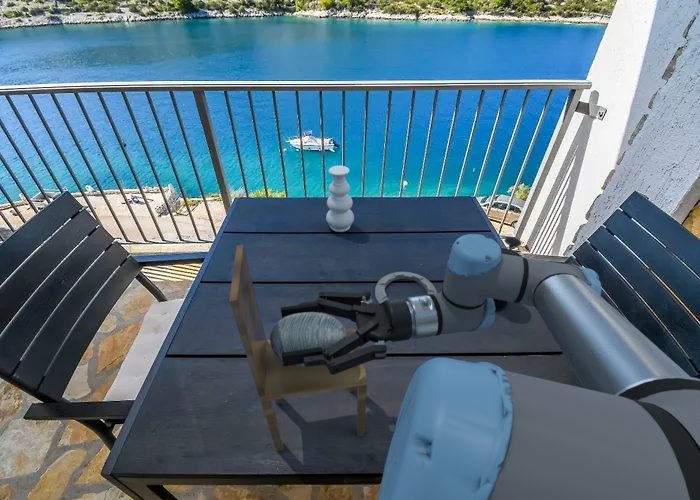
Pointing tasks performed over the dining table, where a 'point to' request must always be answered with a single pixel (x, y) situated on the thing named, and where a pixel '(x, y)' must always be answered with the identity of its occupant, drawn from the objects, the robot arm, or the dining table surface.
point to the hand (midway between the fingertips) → (282, 335)
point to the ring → (391, 277)
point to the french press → (512, 242)
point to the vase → (339, 201)
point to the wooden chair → (270, 369)
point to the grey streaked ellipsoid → (306, 333)
